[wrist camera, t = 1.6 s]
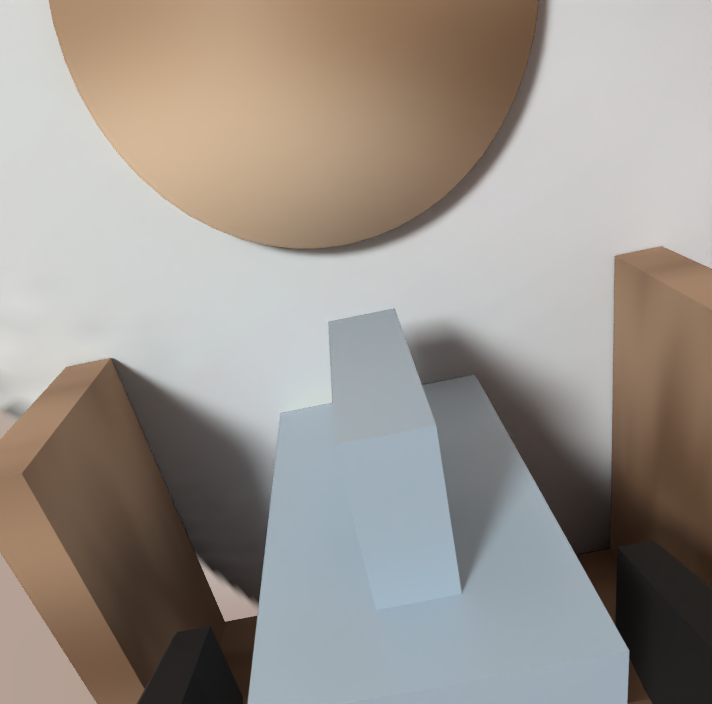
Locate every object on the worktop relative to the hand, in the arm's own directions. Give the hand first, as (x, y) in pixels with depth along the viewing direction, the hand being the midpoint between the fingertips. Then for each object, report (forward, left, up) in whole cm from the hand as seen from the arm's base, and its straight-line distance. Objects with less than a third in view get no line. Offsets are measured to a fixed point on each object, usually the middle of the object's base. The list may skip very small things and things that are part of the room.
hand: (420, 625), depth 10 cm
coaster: (+10, 0, -4) cm, 11 cm away
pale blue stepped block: (0, 0, -4) cm, 4 cm away
